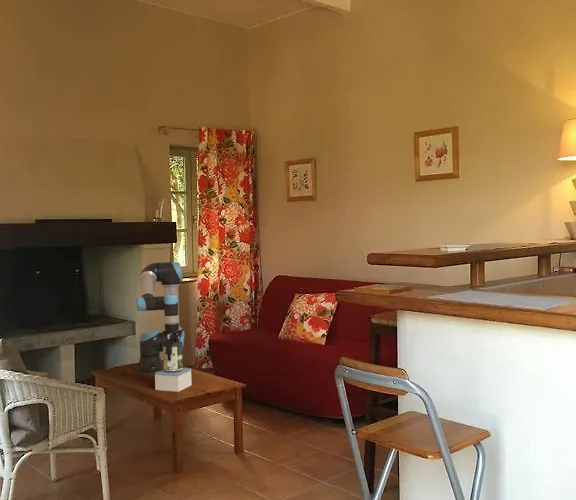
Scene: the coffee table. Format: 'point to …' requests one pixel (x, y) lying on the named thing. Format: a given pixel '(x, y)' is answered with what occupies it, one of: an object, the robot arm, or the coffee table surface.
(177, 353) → the coffee can
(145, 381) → the coffee table surface
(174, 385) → the box
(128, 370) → the coffee table surface
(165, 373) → the lid
